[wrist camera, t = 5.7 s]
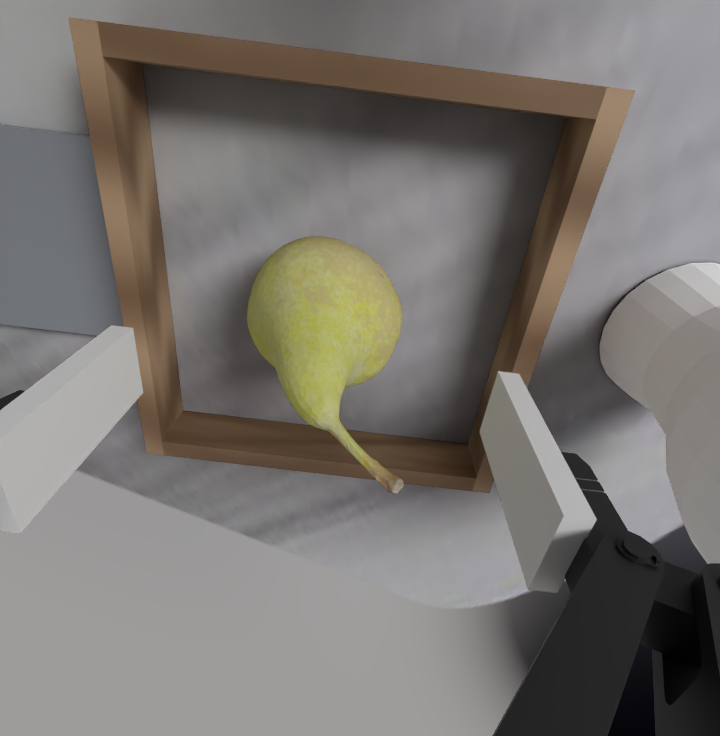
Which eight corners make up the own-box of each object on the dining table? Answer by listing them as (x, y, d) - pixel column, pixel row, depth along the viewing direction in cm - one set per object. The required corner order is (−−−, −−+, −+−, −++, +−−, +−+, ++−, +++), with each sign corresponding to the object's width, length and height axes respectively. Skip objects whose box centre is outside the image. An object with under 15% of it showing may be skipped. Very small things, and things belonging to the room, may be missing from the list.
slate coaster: (-116, 109, 20) (-129, 109, 19) (107, 138, 20) (100, 138, 19) (-38, 314, 25) (-47, 318, 24) (139, 335, 25) (134, 340, 24)
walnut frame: (114, 30, 18) (68, 17, 15) (599, 93, 18) (634, 90, 16) (168, 421, 28) (146, 453, 25) (479, 458, 28) (489, 493, 26)
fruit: (306, 194, 21) (226, 278, 10) (434, 278, 23) (475, 422, 12) (246, 305, 24) (139, 455, 13) (364, 371, 26) (349, 550, 15)
